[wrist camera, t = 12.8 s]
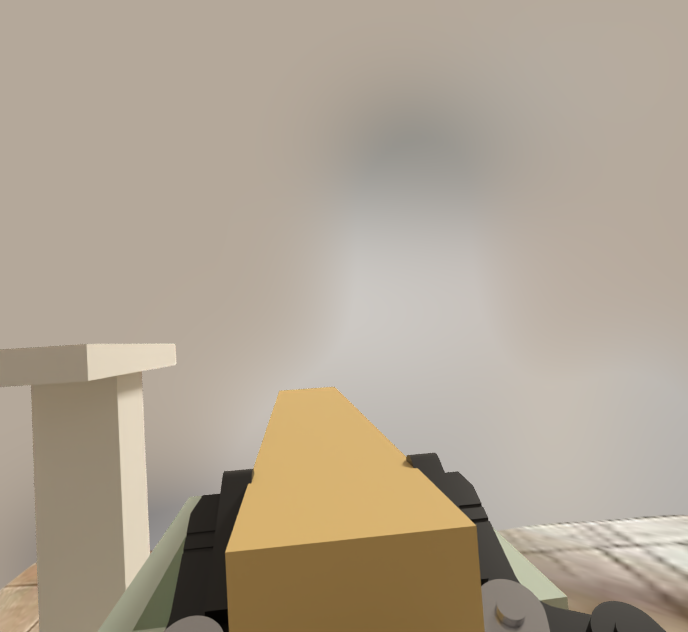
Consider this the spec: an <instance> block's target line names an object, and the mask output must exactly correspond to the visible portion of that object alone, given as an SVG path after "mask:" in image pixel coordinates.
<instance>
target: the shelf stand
mask: <svg viewBox="0 0 688 632" xmlns="http://www.w3.org/2000/svg"><path fill="white" fill-rule="evenodd" d="M172 365H176V345H175V344H80V345H65V346H49V347H35V348H34V347H33V348H18V349H2V350H0V387H9V386H23V385H31V396H32V397H31V398H32V424H33V425H32V427H33V457H34V486H35V513H36V514H35V515H36V545H37V575H38V604H39V632H98V630H99V629H100V627H101V626H102V625H103V623H104V622H105V620H106V619H107V617H108V616H109V614H110V613H111V611H112V610H113V608H114V607H115V605H116V604H117V603H118V601H119V600H120V598H121V597H122V595H123V594H124V592H125V591H126V589H127V588H128V586H129V585H130V584H131V582H132V581H133V579H134V578H135V576H136V575H137V573H138V572H139V570H140V569H141V567H142V566H143V564H144V563H145V562H146V560H147V559H148V557H149V556H150V544H149V523H148V501H147V477H146V457H145V456H146V455H145V433H144V412H143V389H142V371H145V370H150V369H156V368H161V367H167V366H172Z"/></svg>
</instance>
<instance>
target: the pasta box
mask: <svg viewBox="0 0 688 632" xmlns="http://www.w3.org/2000/svg"><path fill="white" fill-rule="evenodd" d="M253 469H254V477H253V480H252V483H251V484H248V486H247V489H246V492H245V495H244V498H243V501H242V504H241V507H240V510H239V513H238V516H237V519H236V522H235V525H234V528H233V531H232V534H231V537H230V539H229V542H228V545H227V548H226V551H225V560H226V581H227V601H228V622H229V632H485V629H484V617H483V604H482V591H481V578H480V565H479V553H478V540H477V527H476V525H475V524H474V523H473V522H472V521H471V520H470V519H469V518H468V517H467V516H466V515H465V514H464V513H463V512H462V511H461V510H460V509H459V508H458V507H457V506H456V505H455V504H454V503H453V502H452V501H451V500H450V499H449V498H448V497H447V496H446V495H445V494H444V493H442V492H441V491H440V490H439V489H438V488H437V487H436V486H435V485H434V484H433V483H432V482H431V481H430V480H429V479H428V478H427V477H426V476H425V475H424V474H423V473H422V472H421V471H420V470H419V469H418V468H413V467H412V466H411V465H410V464H409V463H408V462H407V461H406V456H405V455H404V454H403V453H402V452H401V451H399V450H398V449H397V448H396V447H395V446H394V445H393V444H392V443H391V442H390V441H389V440H388V439H387V438H386V437H385V436H384V435H383V434H382V433H381V432H380V431H379V430H378V429H377V428H376V427H375V426H374V425H373V424H372V423H371V422H370V421H369V420H368V419H367V418H366V417H365V416H364V415H363V414H362V413H361V412H360V411H359V410H358V409H357V408H356V407H354V405H353V404H352V403H350V402H349V401H348V400H347V399H346V398H345V397H344V396H343V395H342V394H341V393H340V392H339V391H338V390H337V389H336V388H335V387H326V388H311V389H298V390H284V391H279V394H278V397H277V400H276V403H275V406H274V408H273V412H272V414H271V417H270V420H269V423H268V426H267V429H266V432H265V435H264V438H263V441H262V444H261V447H260V450H259V453H258V456H257V459H256V462H255V465H254V468H253Z"/></svg>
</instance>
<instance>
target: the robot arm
mask: <svg viewBox="0 0 688 632" xmlns="http://www.w3.org/2000/svg"><path fill="white" fill-rule="evenodd" d="M406 461H407V462H408V463H409V464H410V465H411V466H412V467H413V468H418V469H419V470H420V471H421V472H422V473H423V474H424V475H425V476H426V477H427V478H428V479H429V480H430V481H431V482H432V483H433V484H434V485H435V486H436V487H437V488H438V489H439V490H440V491H441V492H442V493H444V494H445V495H446V496H447V497H448V498H449V499H450V500H451V501H452V502H453V503H454V504H455V505H456V506H457V507H458V508H459V509H460V510H461V511H462V512H463V513H464V514H465V515H466V516H467V517H468V518H469V519H470V520H471V521H472V522H473V523H474V524H475V525H476V527H477V540H478V553H479V565H480V578H481V591H482V604H483V617H484V629H485V632H666V631H665V630H664V629H663V628H662V627H661V626H660V625H658V624H657V623H656V622H655V621H654V620H653V619H652V618H651V617H650V616H648V615H647V614H646V613H644V612H643V611H641V610H640V609H638V608H636V607H634V606H632V605H629V604H626V603H623V602H617V601H608V602H604V603H601V604H599V605H598V606H597V607H596V608H595V609H594V610H593V612H592V615H590V614H585V613H580V612H575V611H570V610H566V609H561V608H557V607H553V606H550V605H548V604H545V603H544V602H542V601H540V600H539V599H538V598H537V597H536V596H535V595H534V593H532V592H531V591H530V590H529V589H528V588H526V587H525V586H523V585H521V583H520V582H519V581H518V579H517V577H516V576H515V574H514V572H513V569H512V567H511V565H510V563H509V561H508V559H507V557H506V555H505V552H504V550H503V548H502V546H501V544H500V542H499V540H498V538H497V536H496V533H495V531H494V529H493V527H492V525H491V523H490V521H488V517H487V515H486V512H485V510H484V508H483V507H482V506H481V502H480V499H479V498H478V495H477V493H476V491H475V489H474V487H473V485H472V484H471V483H470V482H468V481H467V480H466V479H465V478H464V477H463V476H462V475H461V474H460V473H459V472H448V473H445V472H444V470H443V467H442V465H441V462H440V460H439V458H438V456H437V454H436V453H428V454H416V455H407V457H406ZM253 477H254V469H246V470H235V471H224V473H223V478H222V486H221V493H220V494H213V495H203V496H202V497H201V498H200V500H199V501H198V503H197V504H196V506H195V507H194V509H193V510H192V512H191V513H190V518H189V523H188V528H187V536H186V538H185V543H184V548H183V554H182V558H181V564H180V569H179V574H178V579H177V584H176V589H175V594H174V599H173V604H172V609H171V614H170V618H169V622H168V624H167V626H166V629H165V630H164V632H229V622H228V601H227V581H226V560H225V551H226V548H227V545H228V542H229V539H230V537H231V534H232V531H233V528H234V525H235V522H236V519H237V516H238V513H239V510H240V507H241V504H242V501H243V498H244V495H245V492H246V489H247V486H248V484H251V483H252V480H253Z"/></svg>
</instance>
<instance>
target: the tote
mask: <svg viewBox="0 0 688 632" xmlns="http://www.w3.org/2000/svg"><path fill="white" fill-rule="evenodd" d="M201 497H202V496H196V497H189V498H188V500H187V502H186V503H185V505H184V506H183V507H182V509H181V510H180V512H179V513H178V515H177V516H176V518H175V519H174V521H173V522H172V523H171V525H170V526H169V528H168V529H167V531H166V532H165V534H164V535H163V537H162V538H161V540H160V541H159V542H158V544H157V545H156V547H155V548H154V550H153V551H152V553H151V554H150V556H149V557H148V559H147V560H146V562H145V563H144V564H143V566H142V567H141V569H140V570H139V572H138V573H137V575H136V576H135V578H134V579H133V581H132V582H131V584H130V585H129V586H128V588H127V589H126V591H125V592H124V594H123V595H122V597H121V598H120V600H119V601H118V603H117V604H116V605H115V607H114V608H113V610H112V611H111V613H110V614H109V616H108V617H107V619H106V620H105V622H104V623H103V625H102V626H101V627H100V629H99V630H98V632H164V630H165V629H166V626H167V624H168V622H169V618H170V614H171V609H172V604H173V599H174V594H175V589H176V584H177V579H178V574H179V569H180V564H181V558H182V554H183V548H184V543H185V538H186V536H187V528H188V523H189V518H190V513H191V512H192V510H193V509H194V507H195V506H196V504H197V503H198V501H199V500H200V498H201ZM493 529H494V528H493ZM494 531H495V533H496V536H497V538H498V540H499V542H500V544H501V546H502V548H503V550H504V552H505V555H506V557H507V559H508V561H509V563H510V565H511V567H512V569H513V572H514V574H515V576H516V577H517V579H518V581H519V582H520V583H521V585H523V586H525V587H526V588H528V589H529V590H530V591H531V592H532V593H534V595H535V596H536V597H537V598H538V599H539V600H540V601H542V602H544V603H545V604H548V605H550V606H553V607H557V608H561V609H566V610H568V599H567V596H566V595H565V594H564V593H563V592H562V591H561V590H559V589H558V588H557V587H556V586H555V585H554V584H553V583H552V582H551V581H550V580H549V579H548V578H547V577H545V576H544V575H543V574H542V573H541V572H540V571H539V570H538V569H537V568H536V567H535V566H534V565H533V564H531V563H530V562H529V561H528V560H527V559H526V558H525V557H524V556H523V555H522V554H521V553H520V552H519V551H517V550H516V549H515V548H514V547H513V546H512V545H511V544H510V543H509V542H508V541H507V540H506V539H505V538H503V537H502V536H501V535H500V534H499V533H498V532H497V531H496V530H495V529H494Z"/></svg>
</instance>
